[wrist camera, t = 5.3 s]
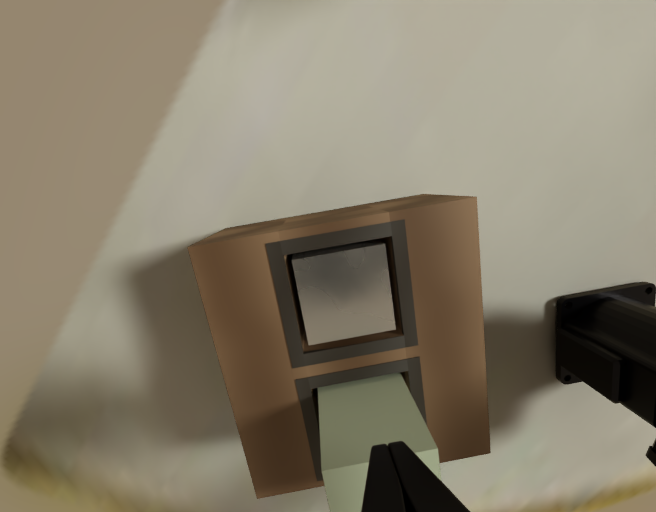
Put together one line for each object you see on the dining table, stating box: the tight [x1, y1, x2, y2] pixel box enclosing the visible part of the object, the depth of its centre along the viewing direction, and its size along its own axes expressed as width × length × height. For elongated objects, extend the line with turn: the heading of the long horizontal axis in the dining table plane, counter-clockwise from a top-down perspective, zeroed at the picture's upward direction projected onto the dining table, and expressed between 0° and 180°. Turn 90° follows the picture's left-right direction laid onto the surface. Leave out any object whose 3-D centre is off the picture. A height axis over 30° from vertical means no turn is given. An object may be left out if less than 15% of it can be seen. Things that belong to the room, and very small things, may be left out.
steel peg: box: [292, 239, 396, 345], centre depth 16 cm, size 4×4×6 cm
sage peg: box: [318, 372, 441, 512], centre depth 13 cm, size 4×4×6 cm
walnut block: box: [187, 194, 490, 499], centre depth 17 cm, size 12×13×6 cm
